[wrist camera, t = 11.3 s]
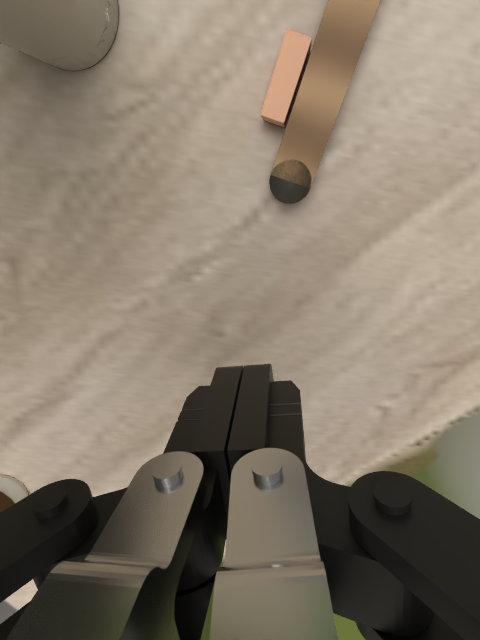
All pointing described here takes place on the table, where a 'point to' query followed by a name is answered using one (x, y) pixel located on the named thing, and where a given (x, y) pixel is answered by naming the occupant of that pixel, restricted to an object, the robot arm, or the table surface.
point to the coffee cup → (10, 491)
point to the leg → (320, 96)
